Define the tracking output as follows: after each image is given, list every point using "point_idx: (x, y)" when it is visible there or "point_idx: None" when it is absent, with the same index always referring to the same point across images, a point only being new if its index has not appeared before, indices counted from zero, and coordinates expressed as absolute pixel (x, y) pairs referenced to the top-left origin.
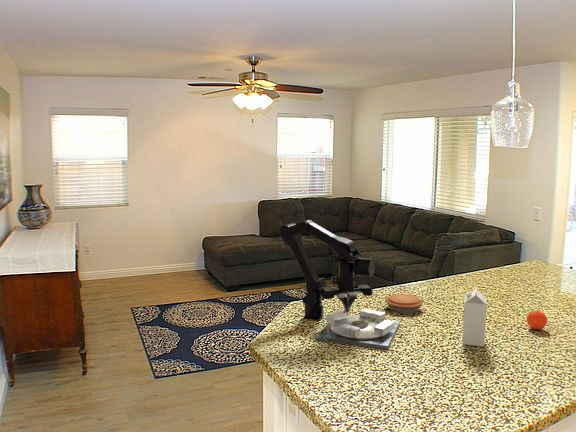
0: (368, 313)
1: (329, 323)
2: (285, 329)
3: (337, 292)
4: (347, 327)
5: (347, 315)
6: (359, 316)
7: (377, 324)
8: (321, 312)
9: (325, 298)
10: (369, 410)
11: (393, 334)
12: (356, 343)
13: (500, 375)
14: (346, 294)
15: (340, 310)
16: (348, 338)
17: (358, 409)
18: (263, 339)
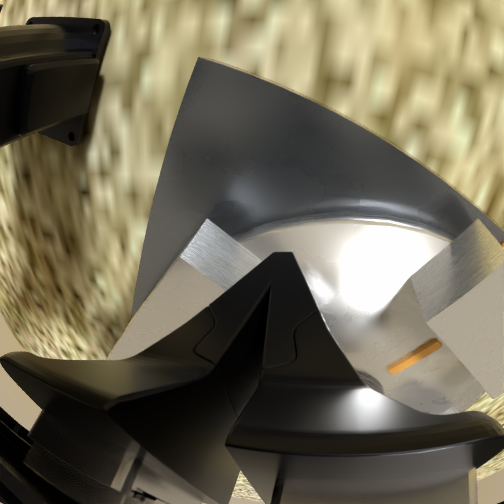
0: (462, 359)
1: (147, 287)
2: (9, 259)
3: (55, 499)
4: None
5: (325, 111)
6: (415, 264)
7: (437, 392)
8: (58, 121)
9: (22, 431)
10: (246, 494)
11: None
12: None
13: None
14: (238, 439)
15: (197, 286)
16: None
17: (233, 491)
18: (8, 317)
